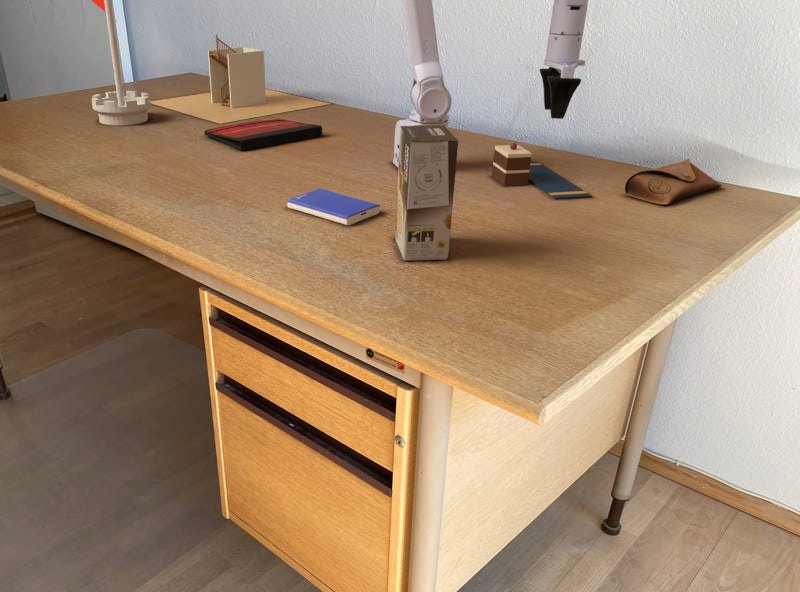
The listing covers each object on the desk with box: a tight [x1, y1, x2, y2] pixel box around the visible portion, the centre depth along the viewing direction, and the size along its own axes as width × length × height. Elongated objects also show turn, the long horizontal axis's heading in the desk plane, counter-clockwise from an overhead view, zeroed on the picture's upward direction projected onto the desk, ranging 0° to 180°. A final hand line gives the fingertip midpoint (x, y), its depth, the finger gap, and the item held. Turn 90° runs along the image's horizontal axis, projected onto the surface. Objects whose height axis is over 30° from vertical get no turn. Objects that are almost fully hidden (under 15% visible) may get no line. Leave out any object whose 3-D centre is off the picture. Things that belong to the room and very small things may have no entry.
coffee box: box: [394, 125, 459, 261], centre depth 100 cm, size 9×6×16 cm
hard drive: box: [287, 188, 381, 226], centre depth 117 cm, size 2×8×12 cm
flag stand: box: [91, 0, 152, 126], centre depth 165 cm, size 13×13×30 cm
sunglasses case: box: [624, 158, 722, 206], centre depth 128 cm, size 18×7×7 cm
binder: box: [203, 118, 323, 152], centre depth 160 cm, size 16×2×21 cm
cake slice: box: [491, 142, 533, 187], centre depth 131 cm, size 4×6×7 cm
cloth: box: [528, 160, 592, 200], centre depth 134 cm, size 6×22×1 cm, turn 11°
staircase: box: [207, 34, 267, 109], centre depth 187 cm, size 9×11×17 cm
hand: (553, 113), depth 136 cm, fingers open, 7 cm apart
